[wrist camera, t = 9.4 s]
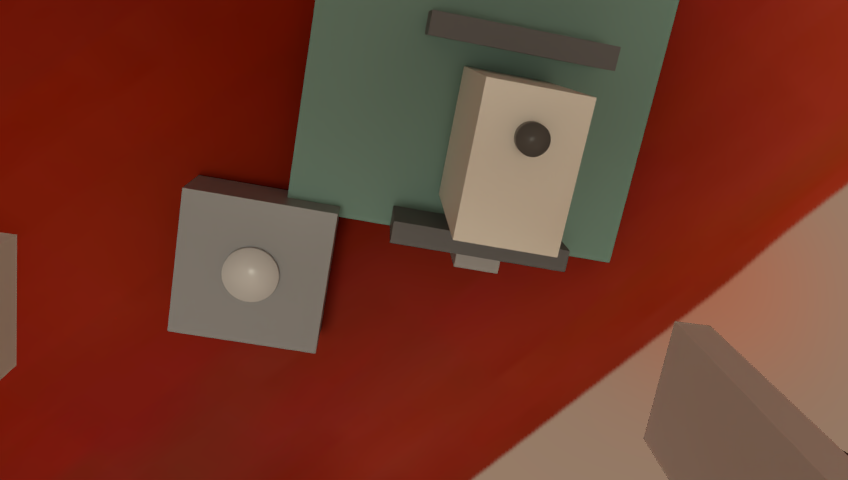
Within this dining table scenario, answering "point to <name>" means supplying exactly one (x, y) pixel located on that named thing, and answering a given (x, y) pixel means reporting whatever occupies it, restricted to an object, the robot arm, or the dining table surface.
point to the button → (251, 264)
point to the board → (437, 97)
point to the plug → (513, 161)
